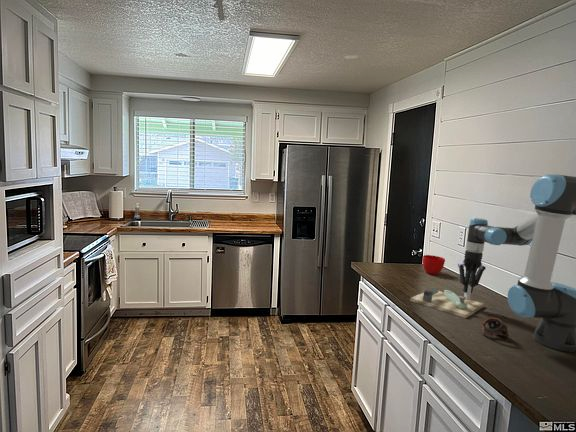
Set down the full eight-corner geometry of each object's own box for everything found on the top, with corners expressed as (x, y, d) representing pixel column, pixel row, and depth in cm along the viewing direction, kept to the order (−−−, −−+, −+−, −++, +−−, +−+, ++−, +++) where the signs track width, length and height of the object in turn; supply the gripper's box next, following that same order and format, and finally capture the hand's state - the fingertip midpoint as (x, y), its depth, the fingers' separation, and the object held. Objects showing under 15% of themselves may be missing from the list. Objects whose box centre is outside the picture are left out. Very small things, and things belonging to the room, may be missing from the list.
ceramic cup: (445, 272, 260) (448, 257, 259) (440, 277, 246) (442, 261, 244) (425, 268, 267) (427, 253, 265) (418, 272, 252) (420, 257, 251)
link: (468, 309, 185) (469, 305, 184) (457, 308, 185) (458, 304, 185) (451, 294, 206) (452, 290, 206) (441, 293, 206) (442, 289, 206)
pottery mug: (514, 343, 156) (510, 327, 154) (489, 350, 158) (484, 334, 156) (501, 324, 168) (497, 308, 165) (478, 330, 170) (473, 315, 167)
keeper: (437, 298, 198) (438, 289, 198) (428, 302, 191) (430, 293, 190) (431, 296, 200) (432, 287, 200) (422, 300, 193) (424, 291, 192)
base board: (483, 306, 197) (485, 293, 196) (465, 318, 178) (467, 303, 177) (431, 291, 214) (433, 279, 213) (410, 300, 195) (411, 287, 195)
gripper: (483, 250, 196) (475, 297, 200) (457, 248, 195) (449, 295, 199) (491, 253, 189) (483, 302, 192) (464, 251, 188) (457, 300, 191)
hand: (466, 299), depth 195 cm, fingers closed
